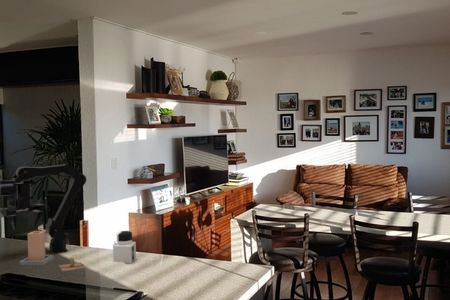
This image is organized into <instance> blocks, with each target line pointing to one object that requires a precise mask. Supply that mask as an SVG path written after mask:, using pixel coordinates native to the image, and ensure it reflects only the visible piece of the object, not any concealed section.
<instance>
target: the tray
mask: <svg viewBox="0 0 450 300" xmlns="http://www.w3.org/2000/svg"><path fill="white" fill-rule="evenodd" d="M54 257H55V256H54V254H50V255H49V254H45V259H44V260H42V261H28V256H27V257H25V258H24V259H21V260H20V261H19V266H44V265H45V264H48V263H49V262H51V261H52V260H54V259H55V258H54Z"/></svg>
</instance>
